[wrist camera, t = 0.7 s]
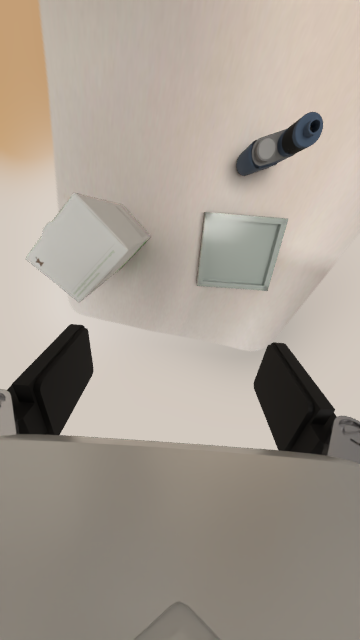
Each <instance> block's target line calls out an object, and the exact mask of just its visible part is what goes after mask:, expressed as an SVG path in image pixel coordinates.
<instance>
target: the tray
mask: <svg viewBox="0 0 360 640" xmlns="http://www.w3.org/2000/svg"><path fill="white" fill-rule="evenodd" d="M287 222H288V219H285V218H272V217H260V216H247V215H235V214H222V213H210V212H205V213H204V222H203V231H202V240H201V249H200V257H199V266H198V275H197V286H208V287H222V288H236V289H250V290H264V291H268V287H269V284H270V280H271V277H272V274H273V270H274V267H275V263H276V260H277V256H278V253H279V249H280V246H281V242H282V239H283V236H284V232H285V229H286V225H287Z"/></svg>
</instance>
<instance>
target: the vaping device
mask: <svg viewBox="0 0 360 640" xmlns="http://www.w3.org/2000/svg"><path fill="white" fill-rule="evenodd" d="M322 129H323V120H322V117H321V116H320V115H319V114H318V113H316V112H310V113H307V114H306V115H304V116H303V117H302V118H300V119H299V120H298V121H297V122H295V123H294V124H293V125H291V126H290V127H289V128H288V129H285V130H282V131H280V132H277V133H274V134H271V135H268V136H265V137H262V138H259V139H258V140H256V141H254V142H253V143H252V144H251V145H250V146H249V147H248V148H247V149H246V150H245V151H243V152H242V153H241V155H240V156H239V157H238V159H237V164H236V167H237V171H238V173H239V174H240V175H242V176H245V175H248V174H251V173H254V172H257V171H260V170H263V169H266V168H269V167H271V166H273V165H276V164H277V163H278V162H280V161H282V160H284V159H286V158H288V157H291V156H293V155H294V154H295V153H297V152H299V151H301V150H303V149H305V148H307V147H309V146H311V145H313V144H314V143H315V142H316V141H317V140H318V138H319V137H320V135H321V132H322Z"/></svg>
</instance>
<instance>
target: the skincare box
mask: <svg viewBox="0 0 360 640" xmlns="http://www.w3.org/2000/svg"><path fill="white" fill-rule="evenodd" d="M150 237H151V236H150V235H149V233H148V232H147V231H146V230H145V229H144V228H143V227H142V226H141V225H140V223H139V222H138V221H137V220H136V219H135V218H134V217H133V216H132V215H131V214H130V212H129V211H128V210H127V209H126V208H125V207H124V206H123V205H122V204H118V203H114V202H110V201H106V200H102V199H97V198H94V197H90V196H86V195H82V194H78V193H73V194H72V196H71V197H70V199H69V200H68V201H67V203H66V204H65V205H64V206H63V208H62V209H61V210H60V211H59V213H58V214H57V215H56V217H55V218H54V219H53V221H51V222H49V223H48V224H47V225H46V226H45V227H44V229H43V233H42V236H41V237H40V239H39V240H38V241H37V243H36V244H35V245H34V247H33V248H32V250H31V251H30V252H29V254H28V255H27V257H26V260H27V261H28V262H29V263H31V264H32V265H33V266H34V267H36V268H37V269H38V270H40V271H41V272H42V273H43V274H44V275H46V276H47V277H48V278H50V279H51V280H52V281H53V282H55V283H56V284H57V285H58V286H59V287H60V288H62V289H63V290H64V291H65V292H66V293H68V294H69V295H70V296H71V297H73V298H74V299H75V300H76V301H78V302H81V301H82V300H83V299H84V298H85V297H87V296H88V295H89V294H90V293H91V292H93V291H94V290H95V289H96V288H98V287H99V286H100V285H101V284H103V283H104V282H105V281H106V280H107V279H109V278H110V277H111V276H112V275H114V274H115V273H116V272H117V271H118V270H120V269H121V268H122V267H123V266H124V265H125V264H126V263H127V261H128V260H129V259H130V258H131V257H132V256H133V255H134V254H135V253H136V252H137V251H138V250H139V249H140V248H141V247H142V246H143V245H144V244H145V243H146V242H147V241H148V240H149V239H150Z"/></svg>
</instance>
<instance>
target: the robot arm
mask: <svg viewBox="0 0 360 640" xmlns="http://www.w3.org/2000/svg"><path fill="white" fill-rule="evenodd" d="M92 374H93V363H92V356H91V349H90V342H89V334H88V330H87V329H86V328H84V326H83V325H73V324H71V325H69V326H68V327H67V328H66V329H65V330H64V331H63V332H62V333H61V334H60V335H59V337H58V338H57V339H56V340H55V341H54V342H53V343H52V344H51V345H50V346H49V347H48V348H47V349H46V350H45V351H44V352H43V353H42V354H41V355H40V356H39V357H38V358H37V359H36V360H35V361H34V362H33V363H32V364H31V365H30V366H29V367H28V368H27V369H26V370H25V371H24V372H23V373H22V374H21V375H20V376H19V378H17V380H16V381H15V382H13V384H12V385H11V387H9V389H8V390H3V389H0V640H360V422H359V421H358V420H356V419H353V418H351V417H347V416H338V417H336V415H335V414H334V411H335V409H334V408H333V406H332V405H331V404H330V403H329V401H328V400H327V398H326V397H325V396H324V394H323V393H322V392H321V391H320V389H319V388H318V386H317V385H316V384H315V383H314V381H313V380H312V379H311V377H310V376H309V375H308V373H307V372H306V371H305V369H304V368H303V367H302V365H301V364H300V363H299V361H298V360H297V359H296V357H295V356H294V355H293V353H292V352H291V351H290V349H289V348H288V347H287V346H286V344H284V343H272V344H271V345H268V347H267V349H266V352H265V354H264V357H263V360H262V363H261V365H260V368H259V370H258V373H257V376H256V378H255V381H254V389H255V392H256V394H257V397H258V400H259V402H260V404H261V407H262V410H263V412H264V414H265V417H266V420H267V422H268V425H269V427H270V430H271V432H272V435H273V437H274V440H275V443H276V445H277V448H278V450H279V451H278V450H266V449H253V448H239V447H227V446H213V445H200V444H185V443H172V442H158V441H142V440H128V439H113V438H98V437H82V436H63V435H60V433H61V431H62V429H63V428H64V426H65V424H66V422H67V420H68V418H69V417H70V414H71V413H72V411H73V409H74V407H75V406H76V404H77V402H78V400H79V398H80V396H81V395H82V393H83V391H84V389H85V387H86V386H87V384H88V382H89V380H90V378H91V376H92Z"/></svg>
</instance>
